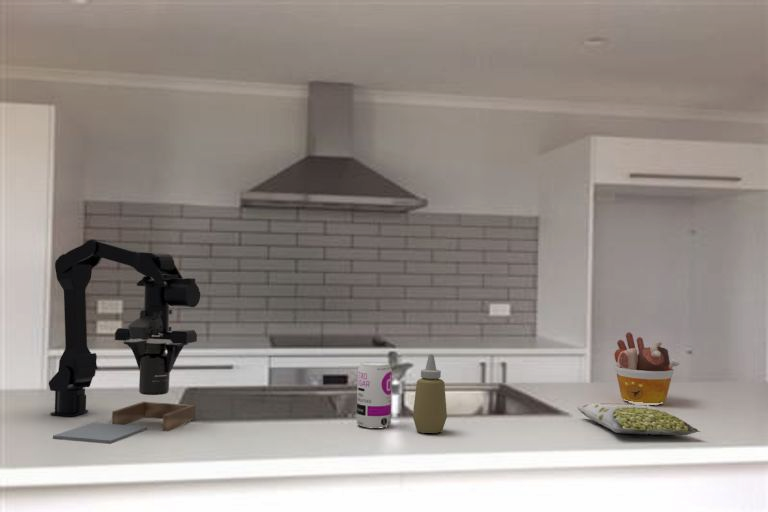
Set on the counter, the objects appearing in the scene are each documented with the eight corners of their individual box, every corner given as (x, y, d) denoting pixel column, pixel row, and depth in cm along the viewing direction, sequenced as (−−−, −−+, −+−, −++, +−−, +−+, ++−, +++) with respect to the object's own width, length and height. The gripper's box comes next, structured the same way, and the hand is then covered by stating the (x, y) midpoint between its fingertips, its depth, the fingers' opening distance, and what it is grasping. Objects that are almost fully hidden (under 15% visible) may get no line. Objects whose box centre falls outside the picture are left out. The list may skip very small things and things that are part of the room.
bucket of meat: (687, 408, 209) (688, 338, 209) (632, 408, 206) (633, 338, 207) (651, 396, 229) (652, 332, 229) (601, 396, 226) (602, 331, 227)
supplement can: (395, 424, 179) (397, 362, 179) (381, 431, 172) (383, 366, 172) (366, 421, 183) (367, 360, 183) (350, 427, 175) (352, 364, 175)
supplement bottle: (160, 396, 170) (161, 344, 170) (133, 394, 172) (134, 343, 172) (174, 391, 177) (175, 341, 177) (148, 389, 178) (149, 340, 178)
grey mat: (52, 438, 158) (52, 435, 158) (93, 425, 171) (93, 422, 171) (110, 443, 154) (110, 440, 154) (147, 429, 168) (147, 426, 168)
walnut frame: (112, 426, 170) (112, 411, 170) (143, 415, 183) (143, 401, 183) (167, 431, 167) (167, 415, 167) (195, 419, 179) (195, 405, 179)
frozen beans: (614, 415, 166) (574, 396, 191) (613, 441, 166) (573, 418, 191) (701, 419, 168) (651, 399, 193) (700, 444, 168) (650, 421, 193)
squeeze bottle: (450, 430, 174) (452, 354, 175) (441, 437, 167) (443, 357, 167) (417, 426, 177) (419, 352, 177) (407, 433, 169) (409, 355, 170)
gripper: (101, 306, 169) (99, 374, 169) (175, 309, 165) (173, 378, 164) (129, 303, 180) (127, 367, 180) (198, 306, 175) (197, 372, 175)
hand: (154, 371), depth 174 cm, fingers closed on supplement bottle, 7 cm apart
